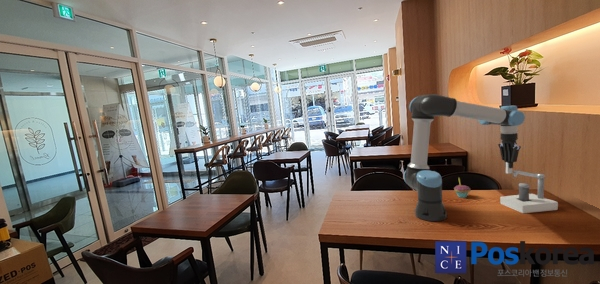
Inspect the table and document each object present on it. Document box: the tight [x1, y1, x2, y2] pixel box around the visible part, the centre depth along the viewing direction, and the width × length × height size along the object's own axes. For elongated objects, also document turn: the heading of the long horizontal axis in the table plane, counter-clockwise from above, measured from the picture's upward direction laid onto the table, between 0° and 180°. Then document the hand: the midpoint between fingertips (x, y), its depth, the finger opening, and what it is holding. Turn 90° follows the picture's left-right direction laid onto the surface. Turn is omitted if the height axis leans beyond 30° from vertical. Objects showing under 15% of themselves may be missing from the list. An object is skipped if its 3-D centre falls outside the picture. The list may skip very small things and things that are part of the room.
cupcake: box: [453, 177, 471, 199], centre depth 158 cm, size 9×8×12 cm
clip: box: [512, 169, 546, 180], centre depth 140 cm, size 15×3×4 cm, turn 15°
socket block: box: [499, 178, 559, 214], centre depth 135 cm, size 18×14×15 cm
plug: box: [518, 182, 530, 202], centre depth 135 cm, size 4×4×12 cm
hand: (509, 173), depth 147 cm, fingers closed
